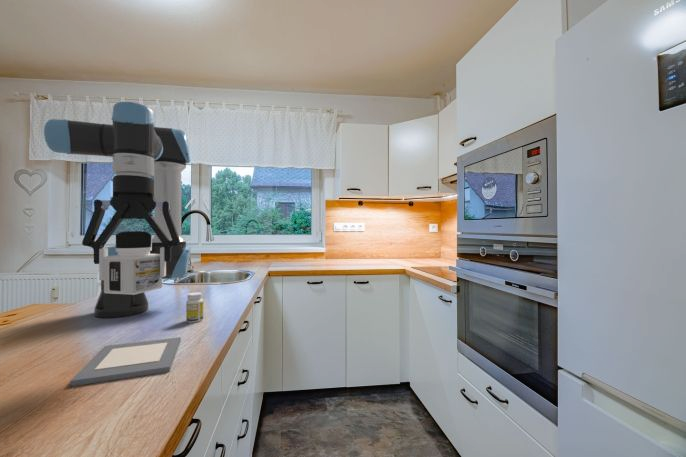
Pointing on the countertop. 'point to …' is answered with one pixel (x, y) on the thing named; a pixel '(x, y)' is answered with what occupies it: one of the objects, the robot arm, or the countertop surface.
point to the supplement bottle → (194, 307)
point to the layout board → (129, 361)
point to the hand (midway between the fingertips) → (134, 277)
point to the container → (132, 265)
